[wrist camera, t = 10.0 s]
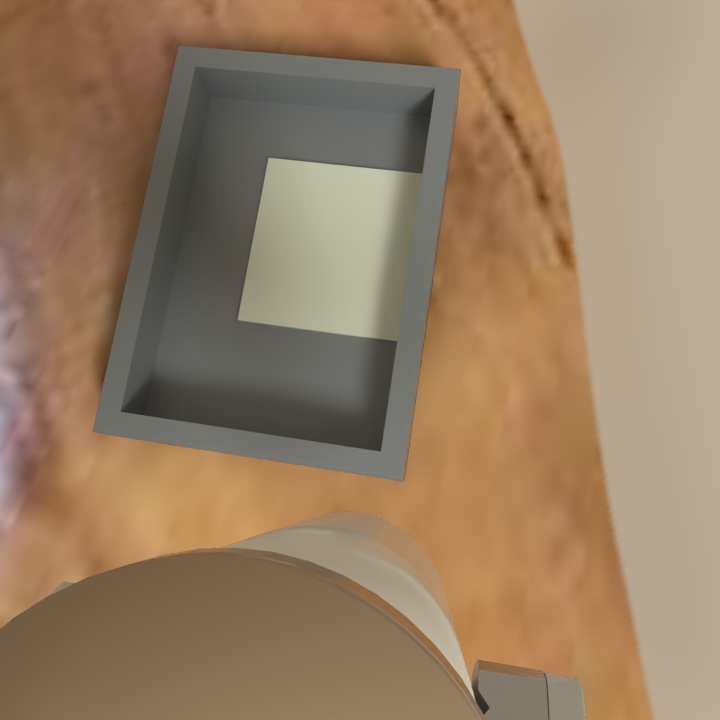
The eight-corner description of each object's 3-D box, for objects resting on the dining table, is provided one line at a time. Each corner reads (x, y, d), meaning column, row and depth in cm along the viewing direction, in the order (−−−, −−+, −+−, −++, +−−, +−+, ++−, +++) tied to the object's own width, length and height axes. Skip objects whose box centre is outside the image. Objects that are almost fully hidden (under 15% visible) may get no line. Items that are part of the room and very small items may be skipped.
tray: (123, 437, 31) (92, 432, 28) (199, 83, 34) (178, 45, 31) (404, 481, 30) (402, 480, 27) (457, 106, 33) (460, 69, 30)
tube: (225, 704, 17) (-239, 1242, 5) (263, 492, 17) (-49, 507, 6) (436, 747, 16) (496, 1478, 4) (465, 526, 17) (581, 621, 5)
